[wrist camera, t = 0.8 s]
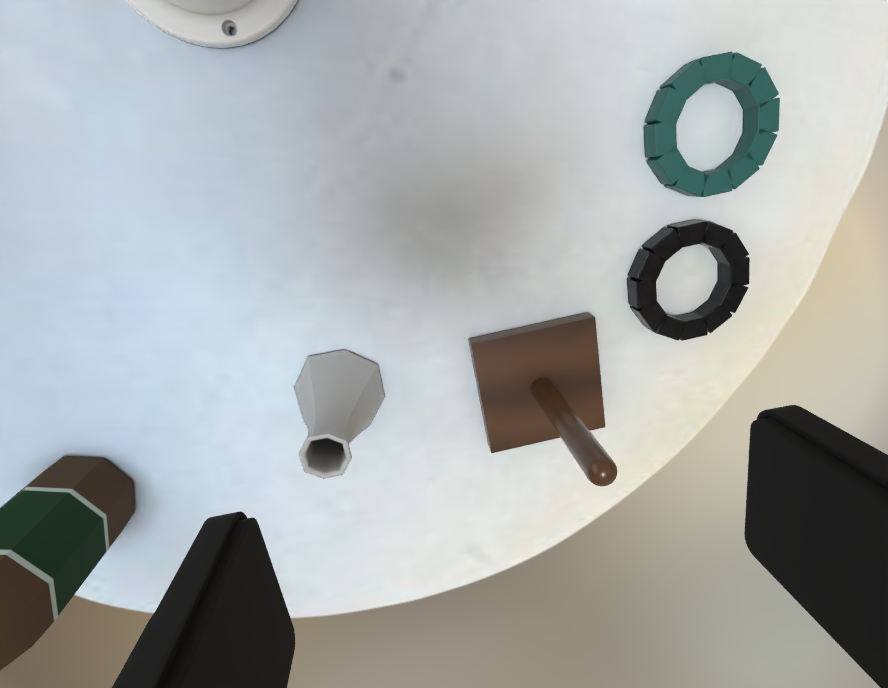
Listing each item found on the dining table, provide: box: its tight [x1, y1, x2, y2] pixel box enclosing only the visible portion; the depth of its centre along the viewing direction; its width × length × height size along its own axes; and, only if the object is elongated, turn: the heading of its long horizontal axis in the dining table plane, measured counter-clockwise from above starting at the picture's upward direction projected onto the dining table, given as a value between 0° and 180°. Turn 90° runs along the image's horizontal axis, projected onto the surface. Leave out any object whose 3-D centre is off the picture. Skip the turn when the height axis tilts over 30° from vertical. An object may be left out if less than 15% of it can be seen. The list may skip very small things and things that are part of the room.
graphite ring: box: [627, 220, 750, 340], centre depth 39 cm, size 9×9×2 cm
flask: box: [294, 350, 385, 479], centre depth 35 cm, size 7×7×10 cm
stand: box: [468, 312, 617, 486], centre depth 35 cm, size 10×10×14 cm
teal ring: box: [644, 52, 780, 197], centre depth 35 cm, size 9×9×2 cm
